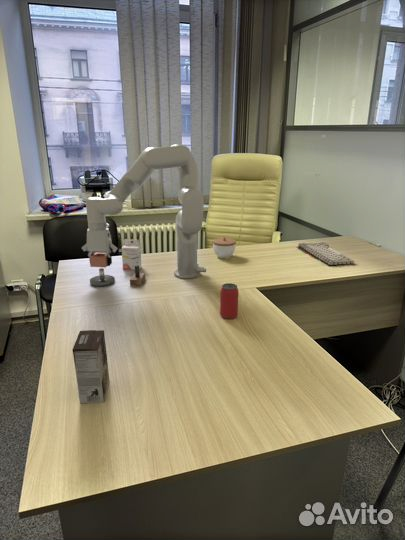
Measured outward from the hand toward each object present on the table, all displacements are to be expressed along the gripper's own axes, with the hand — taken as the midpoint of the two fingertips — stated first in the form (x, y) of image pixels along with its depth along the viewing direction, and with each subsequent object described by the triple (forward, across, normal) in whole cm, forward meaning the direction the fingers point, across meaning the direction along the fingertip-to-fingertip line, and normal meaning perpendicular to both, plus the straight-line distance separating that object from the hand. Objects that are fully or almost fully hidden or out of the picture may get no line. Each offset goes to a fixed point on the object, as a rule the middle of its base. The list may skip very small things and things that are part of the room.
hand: (101, 264), depth 167 cm
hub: (+9, 0, 0) cm, 9 cm away
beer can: (+9, -59, +26) cm, 65 cm away
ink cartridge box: (+9, -8, -20) cm, 23 cm away
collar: (0, 0, 0) cm, 0 cm away
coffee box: (+9, -26, +74) cm, 79 cm away
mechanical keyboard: (+10, -109, -55) cm, 123 cm away
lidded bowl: (+9, -53, -45) cm, 70 cm away
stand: (+9, -16, -2) cm, 18 cm away
